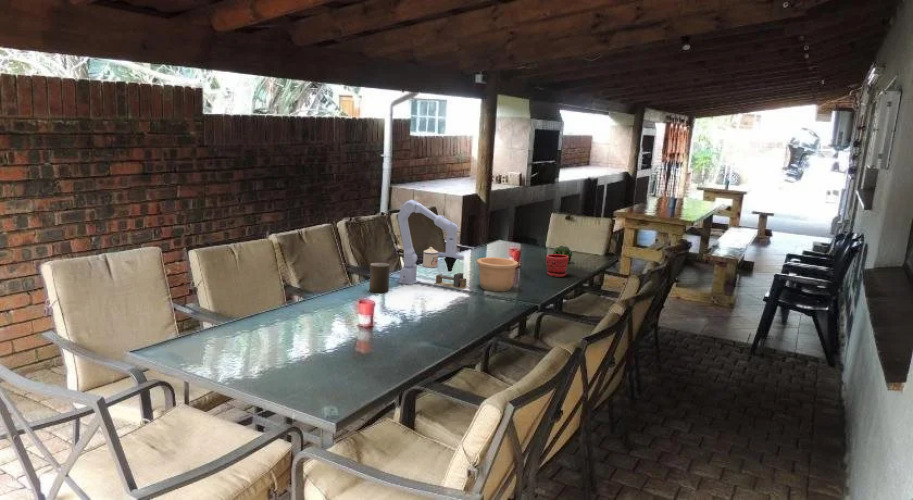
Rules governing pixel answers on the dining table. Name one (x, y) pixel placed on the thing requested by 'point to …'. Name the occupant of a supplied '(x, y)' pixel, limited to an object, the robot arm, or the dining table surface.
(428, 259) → the teacup with lid
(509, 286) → the pottery
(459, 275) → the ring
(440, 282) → the rail
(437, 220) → the robot arm
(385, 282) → the pillar candle
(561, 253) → the vegetable
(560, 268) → the plant pot
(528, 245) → the dining table surface
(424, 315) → the dining table surface
